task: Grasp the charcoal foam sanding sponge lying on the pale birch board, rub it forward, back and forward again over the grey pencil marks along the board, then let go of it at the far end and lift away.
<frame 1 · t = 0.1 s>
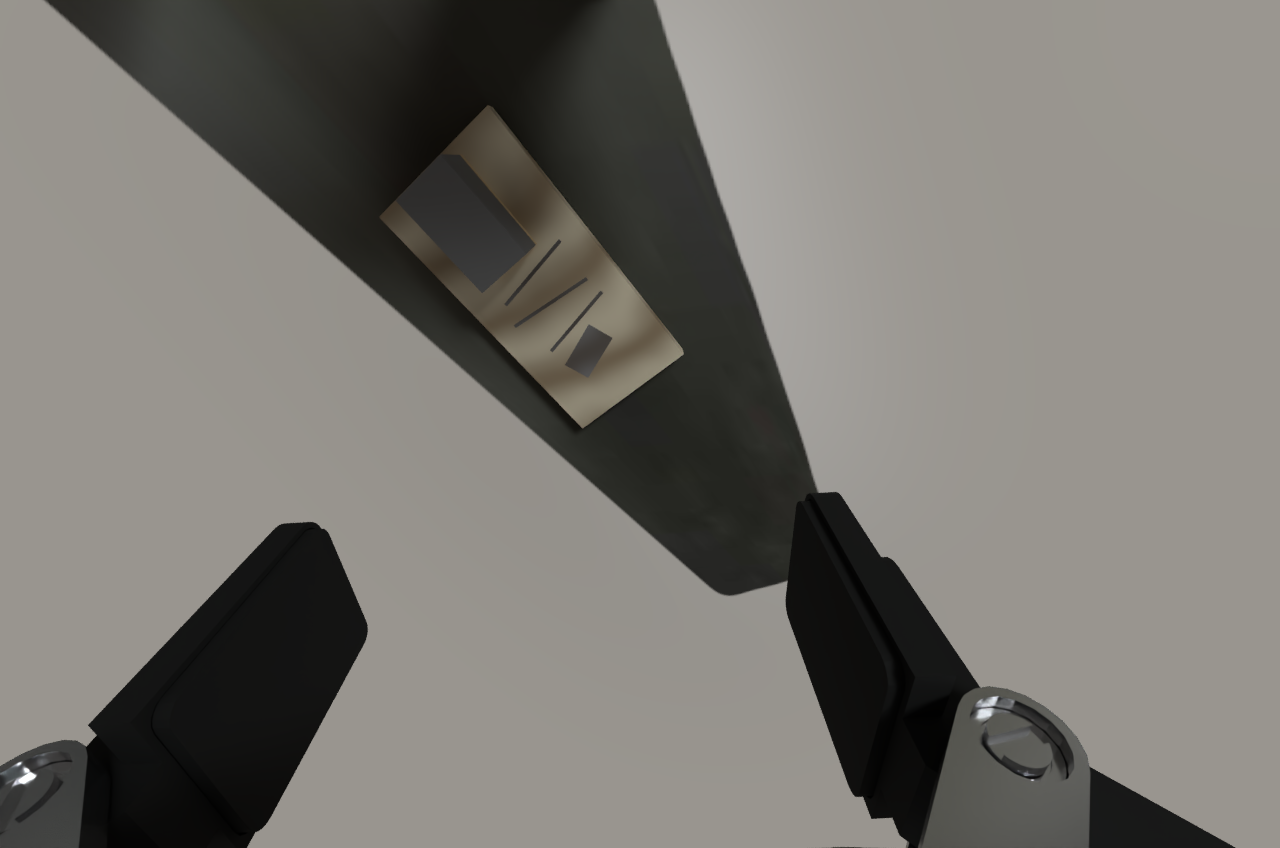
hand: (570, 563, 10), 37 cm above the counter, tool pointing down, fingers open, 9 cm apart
sanding sponge: (480, 220, 40), point 2 cm above the counter, touching birch board
birch board: (544, 286, 44), on the counter
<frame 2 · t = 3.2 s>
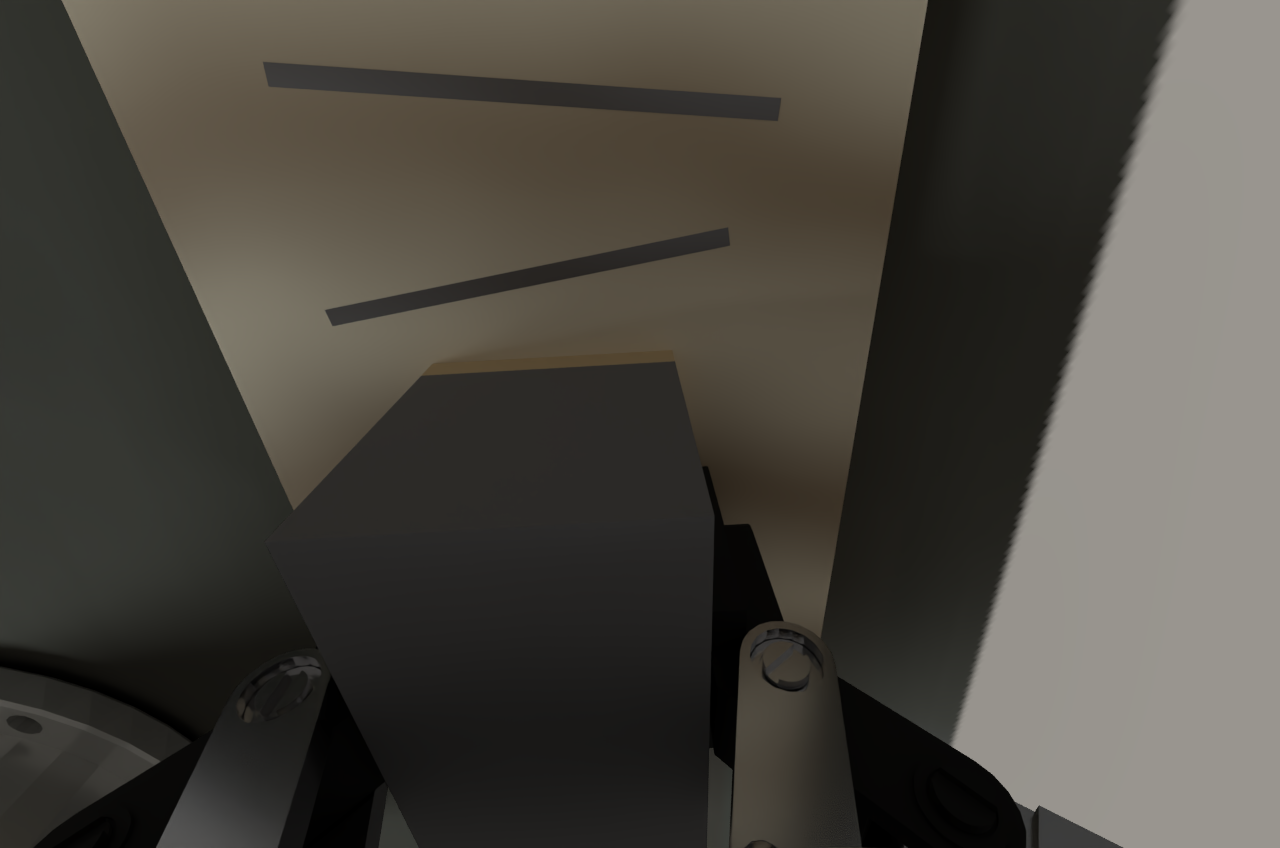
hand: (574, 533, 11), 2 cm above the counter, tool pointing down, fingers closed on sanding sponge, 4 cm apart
sanding sponge: (575, 525, 11), point 2 cm above the counter, touching birch board, gripper
birch board: (542, 178, 10), on the counter
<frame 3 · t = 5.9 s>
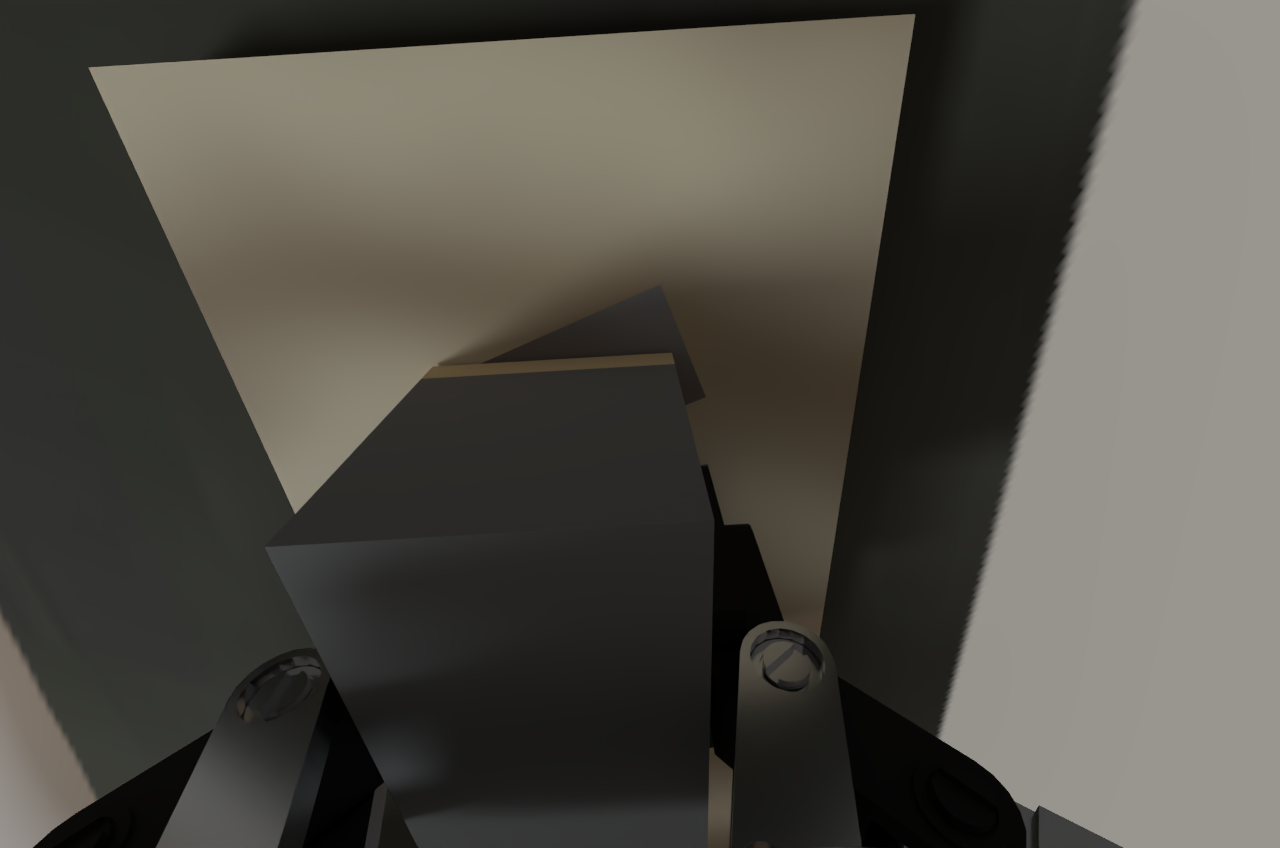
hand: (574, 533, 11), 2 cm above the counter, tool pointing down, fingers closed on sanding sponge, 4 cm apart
sanding sponge: (575, 527, 11), point 2 cm above the counter, touching gripper
birch board: (591, 577, 14), on the counter
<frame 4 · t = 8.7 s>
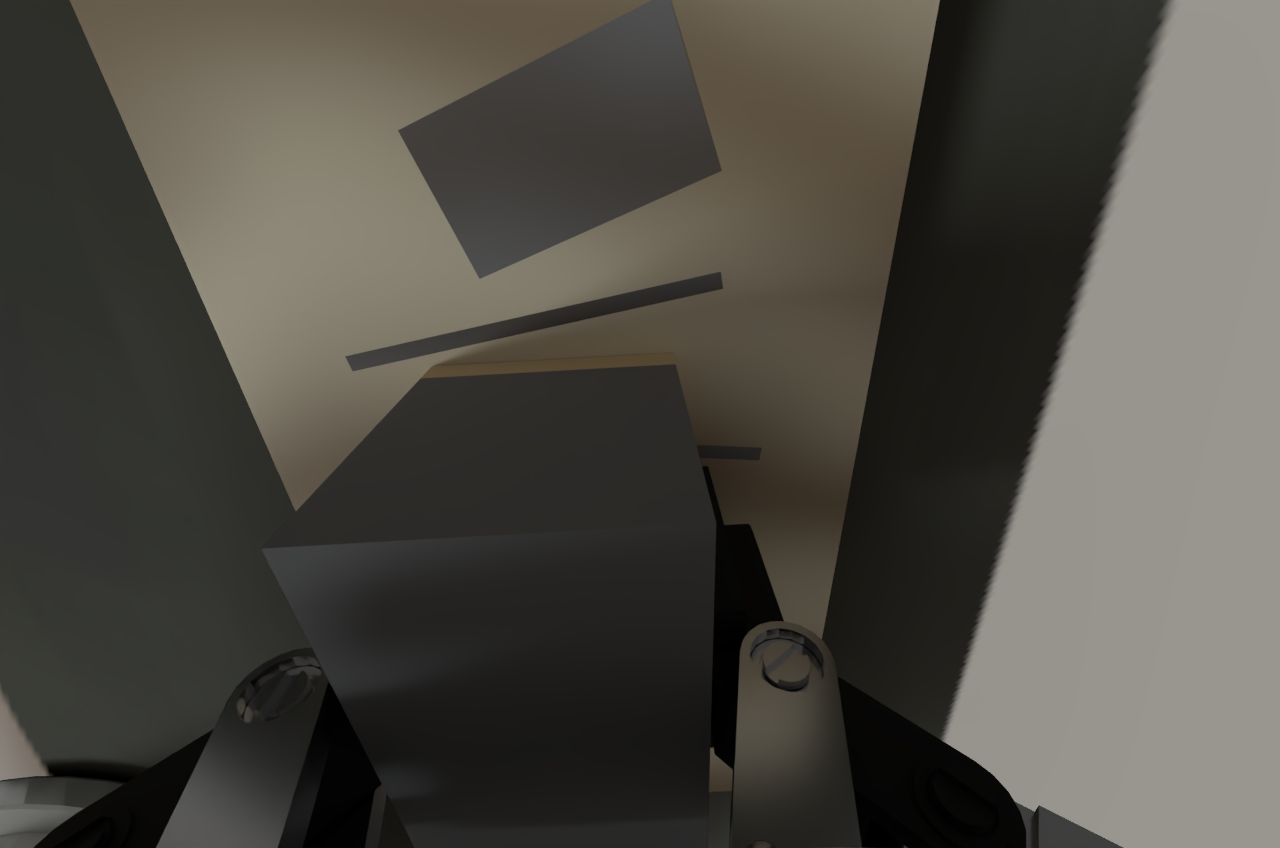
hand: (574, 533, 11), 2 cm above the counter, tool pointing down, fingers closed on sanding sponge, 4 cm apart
sanding sponge: (575, 528, 11), point 2 cm above the counter, touching gripper
birch board: (579, 456, 12), on the counter
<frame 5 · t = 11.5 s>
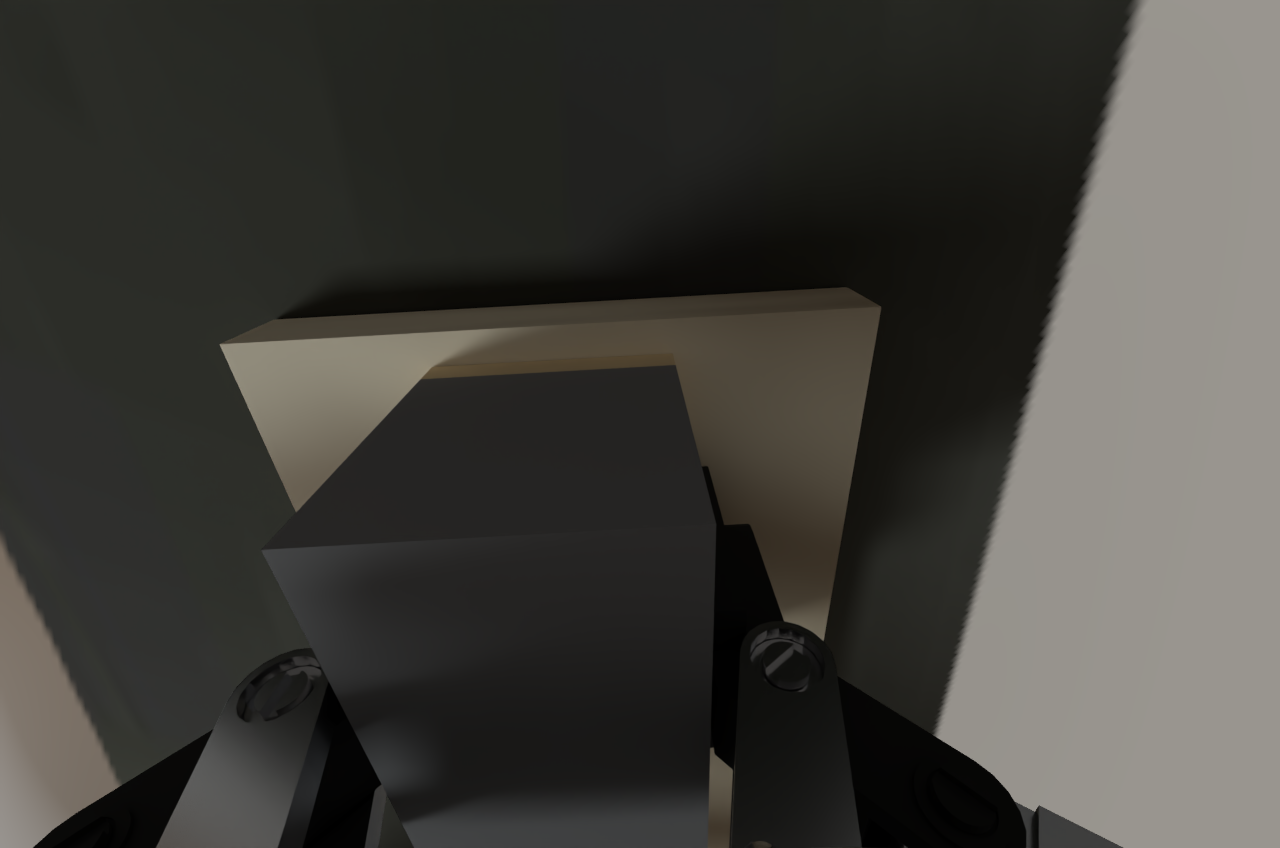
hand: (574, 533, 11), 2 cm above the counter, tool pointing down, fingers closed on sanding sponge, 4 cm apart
sanding sponge: (575, 529, 11), point 2 cm above the counter, touching gripper
birch board: (606, 677, 16), on the counter
when the fingers open (2 cm above the counter, at t = 12.4 s): sanding sponge stays where it is, resting on birch board.
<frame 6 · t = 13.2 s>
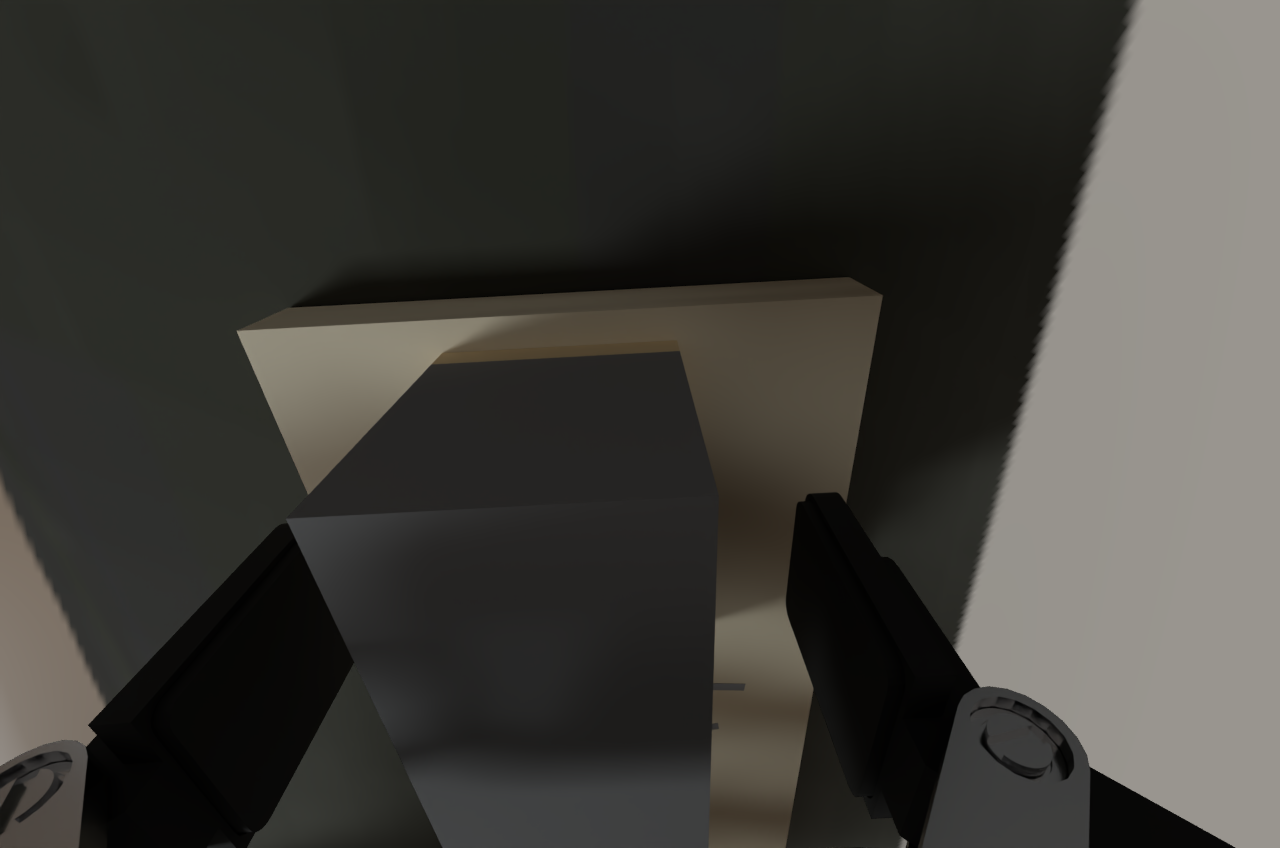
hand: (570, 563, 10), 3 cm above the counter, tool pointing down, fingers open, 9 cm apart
sanding sponge: (581, 513, 12), point 2 cm above the counter, touching birch board
birch board: (610, 663, 16), on the counter
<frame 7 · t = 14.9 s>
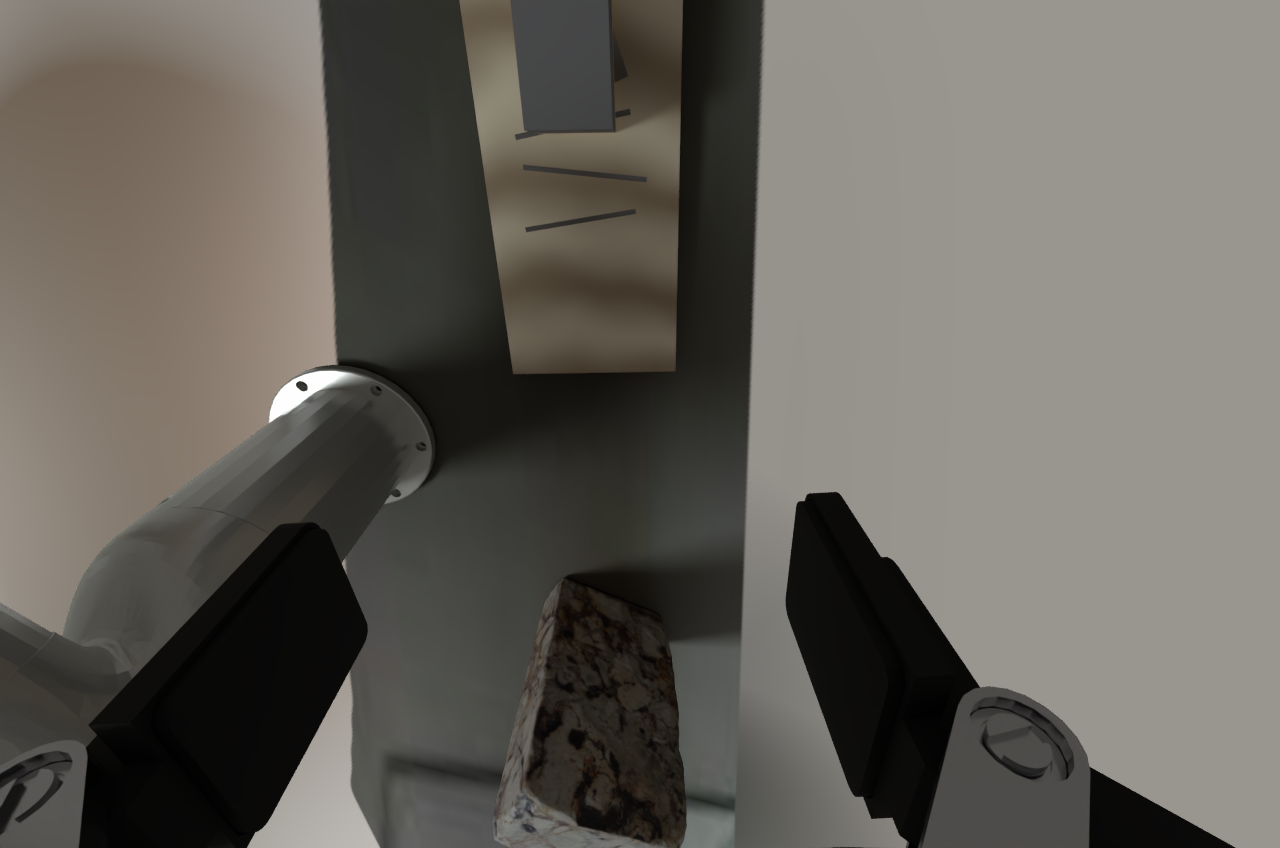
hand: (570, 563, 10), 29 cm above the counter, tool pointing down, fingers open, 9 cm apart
stone block: (607, 609, 52), on the counter
sanding sponge: (573, 50, 28), point 2 cm above the counter, touching birch board
birch board: (585, 193, 33), on the counter
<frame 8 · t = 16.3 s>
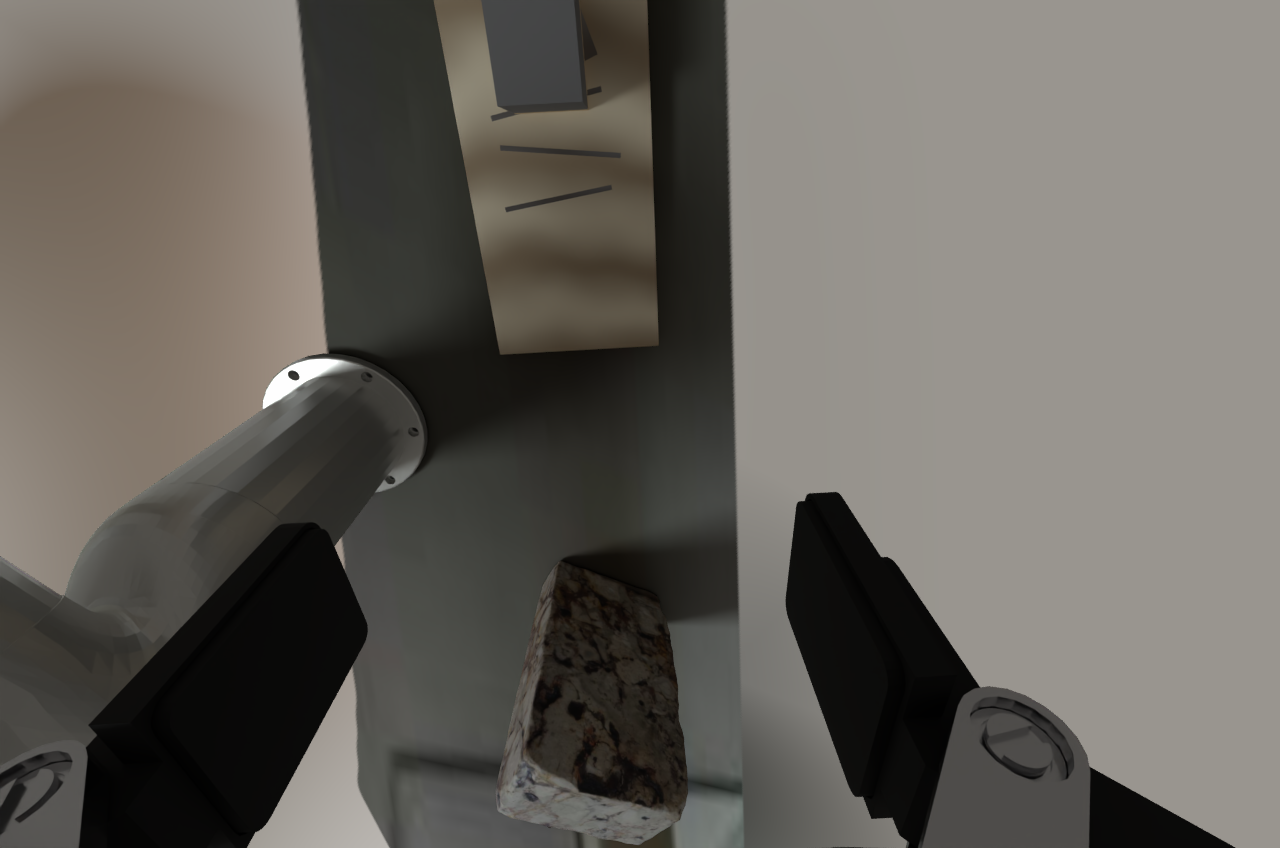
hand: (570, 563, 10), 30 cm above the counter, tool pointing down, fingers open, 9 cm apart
stone block: (604, 591, 52), on the counter
sanding sponge: (543, 31, 29), point 2 cm above the counter, touching birch board
birch board: (562, 172, 34), on the counter
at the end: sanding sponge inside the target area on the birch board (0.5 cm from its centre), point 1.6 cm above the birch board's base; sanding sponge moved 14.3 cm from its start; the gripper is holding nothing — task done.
